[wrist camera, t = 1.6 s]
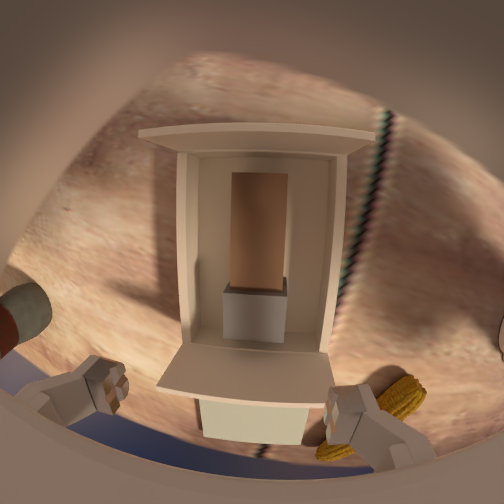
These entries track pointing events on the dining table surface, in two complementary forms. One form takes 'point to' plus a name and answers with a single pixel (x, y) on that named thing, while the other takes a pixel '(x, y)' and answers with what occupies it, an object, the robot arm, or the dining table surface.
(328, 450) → the food
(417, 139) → the dining table surface
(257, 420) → the board
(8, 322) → the bottle
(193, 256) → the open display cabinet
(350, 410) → the robot arm
